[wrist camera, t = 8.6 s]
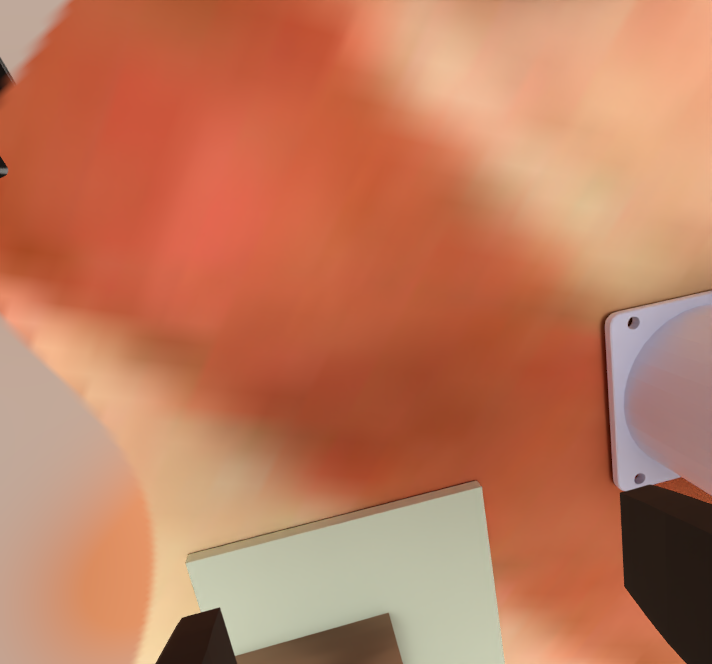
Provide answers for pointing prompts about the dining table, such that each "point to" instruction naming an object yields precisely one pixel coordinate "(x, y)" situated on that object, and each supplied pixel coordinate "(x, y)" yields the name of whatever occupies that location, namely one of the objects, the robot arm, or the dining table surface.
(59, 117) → the dining table surface
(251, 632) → the board
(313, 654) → the walnut base
